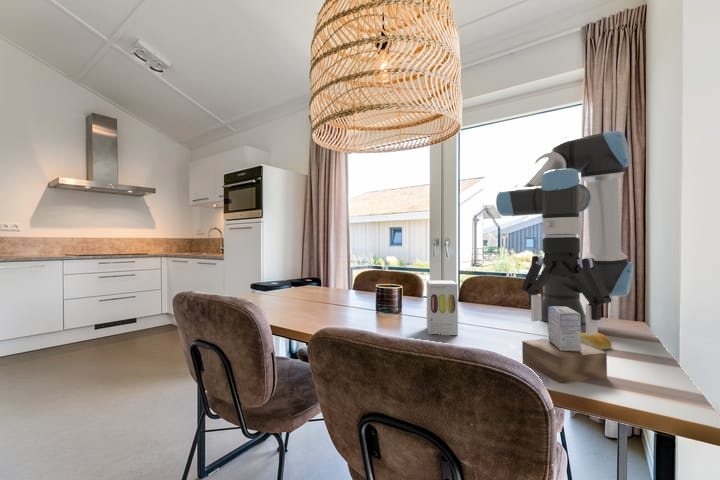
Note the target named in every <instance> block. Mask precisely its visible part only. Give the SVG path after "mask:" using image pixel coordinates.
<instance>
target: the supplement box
mask: <svg viewBox="0 0 720 480" xmlns="http://www.w3.org/2000/svg"><path fill="white" fill-rule="evenodd" d="M458 305H459V304H458V283H457V282H455V281H454V280H443V279H442V280H440V279H439V280H432V279H431V280H430V279H427V280H426V329H427V333H428V335H429V334H439V335H438V336H450V335H459V329H458V328H459V327H458V325H459V324H458V322H459V321H458V315H459V313H458ZM440 334H441V335H440Z"/></svg>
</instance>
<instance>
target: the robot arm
mask: <svg viewBox="0 0 720 480" xmlns="http://www.w3.org/2000/svg"><path fill="white" fill-rule="evenodd" d="M630 166H631V155H630V150H629V145H628V142H627V138H626V136H625V134H624V133H623V132H622V131H619V130H614V131H606V132H605V131H604V132H601V133H595V134H592V135H587V136H581V137H576V138H570V139H567V140H564V141H561V142H559V143H557V144H555V145H553V146H551V147H550V148H548V149H546V150H544V152H542V153H541V155H539V156H538V157H537V158H536V160H535V163H534V166H532V168H531V169H530V170H529V172H527V174H526V175H525V176H523V178H521V180H520V181H519V182H518V183H517V184H516V185H515V187H514V188H512V189H510V188H509V189H504V190H501V191H499V192H498V194H497V195H496V198H495V199H496V200H495V203H496V204H495V206H496V209H497V212H498V213H499V215H500V216H503V217H509V216H510V217H519V216H531V215H532V216H537V215H542V216H541V218H542V219H541V221H542V222H541V223H542V235H543V236H545V237H543V239H542V252H543V254H544V255H543V256H542V255H533V256H532V257H531V266H530V267H529V269H528V272H527V273H526V277H525V279H524V280H523V283H522V285H521V290H522V291H523V292H526V293H527V294H528V305H529V307H530V311H531V312H530V314H531V315H530V316H531V318H530V319H531V321H532V322H538V321H543V322H547V323H548V307H551V306H563V307H568V308H570V309H572V310H574V311H576V312H578V313H579V314H580V322H581V325H584V324H585V333H586V335H589V336H590V335H595V334H598V333H599V331H598V328H599V327H598V322H599V321H601V319H602V305H604V304H610V303H611V302H612V297H626V296H629V293H630V290H631V288H632V282H633V278H634V277H633V276H634V265H635V264H634V263H633V262H632V261H629V260H628V255H626V254H625V253H624V252H623V251H622V238H621V237H622V236H621V232H622V231H621V211H620V210H621V207H620V183H619V182H620V181H619V179H620V178H621V177H622V176H623V175H624V174H625V168H629V167H630ZM579 173H580V174H579ZM579 175H580V176H579ZM580 178H581V179H582V180H583V181H585V183H586V185H584V184H582V183H581V180H580ZM586 210H587V217H588V237H589V239H588V240H589V252H588V253H587V254H586V255H584V258H582V259H580V252H581V238H579V237H578V235H580V234H581V229H580V228H581V227H580V226H581V225H580V224H581V223H580V220H581V219H580V213H581V212H583V211H586ZM539 274H540V275H539ZM541 290H543V291H542V292H543V296H542V294H541V293H540V291H541ZM581 295H583V297H584V298H585V299H586V300H587V302H588V304H585V309H584V308H583V305H582V302H581V297H580V296H581ZM542 297H543V298H542ZM584 310H585V311H584Z"/></svg>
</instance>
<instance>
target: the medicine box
mask: <svg viewBox="0 0 720 480" xmlns="http://www.w3.org/2000/svg"><path fill="white" fill-rule="evenodd" d="M547 323H548V324H547V325H548V329H547V330H548V331H547V332H548V338H549V341H550V342H552V343H553V344H554V345H555V346H556V347H557V348H558V349H560V350H561V351H576V352H580V351H581V333H582V329H581V328H582V327H581V325H582V324H581V322H580V314H579V313H578V312H576V311H574V310H572V309H570V308H568V307H563V306H551V307H548V322H547Z"/></svg>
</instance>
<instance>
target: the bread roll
mask: <svg viewBox="0 0 720 480" xmlns="http://www.w3.org/2000/svg"><path fill="white" fill-rule="evenodd" d="M581 343H582V344H584V345H587V346H590V347H593V348H596V349H598V350H601V351H604V350H607V349H610V348H611V347H612V342H611V340H610V338H608V337H607V336H606V335H605V334H602V333H600V332H598V334H595V335H590V336H589V335H586V332H583V333H582V332H581Z"/></svg>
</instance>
